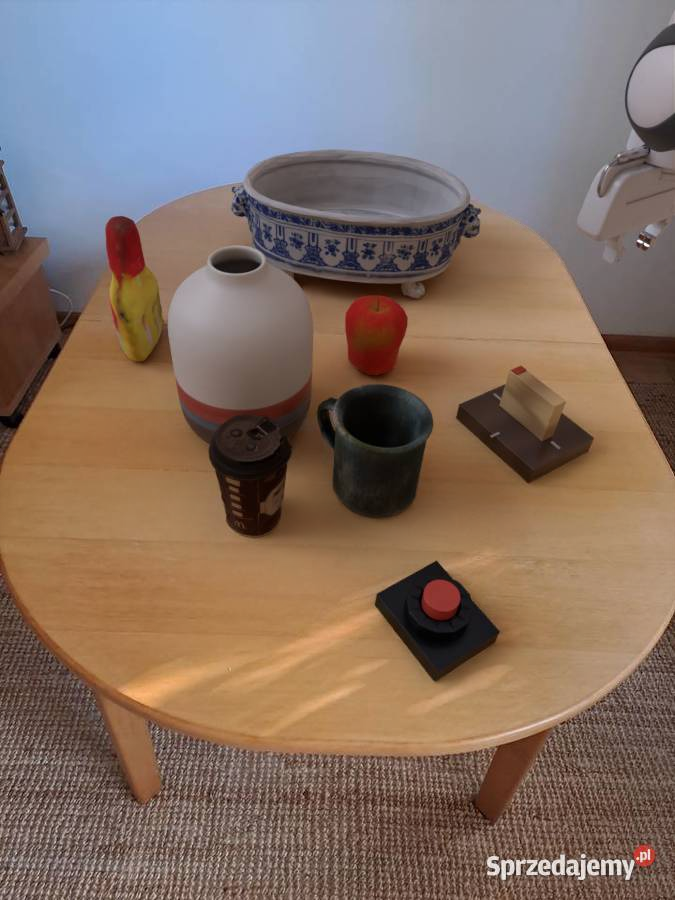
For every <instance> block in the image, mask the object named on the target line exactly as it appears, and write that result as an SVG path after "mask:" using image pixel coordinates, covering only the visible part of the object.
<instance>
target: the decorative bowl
mask: <svg viewBox="0 0 675 900" xmlns="http://www.w3.org/2000/svg"><path fill="white" fill-rule="evenodd" d="M230 192H232V193H233V194H234V195H233V196H232V197H231V206H230V210H231V212H232V213H233V214H234V216H236V217H238V218H239V217H240V218H244V217H245V218H246V219H247V223H248V229H249V231H250V233H251V236H252V248H255V249H257V250H259V251H260V252H262V253H263V254H264V256H265V257H266V261H267V263H268V264H271V265H273V266H275V267H277V268H279V269H280V270H282V271H283V272H285V273H286V274H288V275H289V276H290V277H291V278H293V279H294V276H295V274H300V275H305V276H310V277H316V278H322V279H327V280H334V281H335V280H336V281H343V282H355V283H363V284H391V285H392V284H393V285H394V284H400V292H401V294H403V295H404V296H409V297H410V298H412V299H417V300H418V299H420V298H422V296H424V295H425V292H426V289H425V285H424V284H423V283H422V282H421V281H425V280H428V279H432V278H434V277H436V276H438V275H440V274H441V273H442V272H444V271H445V270H447V268H448V267H449V265H450V263H451V259H452V256H453V254H454V252H455V250H456V249H457V248H458V246H459V245H460V244H461V242H462V241H461V240H462V239H461V238H462V237H464V238H466V239H473V238H475V237H477V236H478V235H479V234H480V233H481V227H480V226H481V219H480V218H479V215H480V214H481V213H482V209H481V207H475V206H474V204H472V203H470V201H471V194H470V192H469V189H468V187H467V186H466V184H465V183H464V182H463V181H462V180H461V179H460V178H459V177H458V176H457V175H455V174H453V173H451V172H450V171H448V170H446V169H444V168H442V167H440V166H437V165H435V164H432V163H429V162H427V161H423V160H420V159H418V158H417V159H416V158H413V157H408V156H403V155H396V154H391V153H385V152H378V151H377V152H376V151H365V150H350V149H319V150H318V149H317V150H305V151H295V152H290V153H285V154H283V153H282V154H278V155H274V156H272V157H268V158H266V159H264V160H262V161H259V162H258V163H256V164H254V165H253V166H252V167H251V168H249V170H248V171H247V172H246V174H245V176H244V178H243V182H242V184H241V185H238V186H232V187H231V191H230ZM294 280H295V279H294Z"/></svg>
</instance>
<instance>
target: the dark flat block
mask: <svg viewBox="0 0 675 900" xmlns="http://www.w3.org/2000/svg"><path fill="white" fill-rule="evenodd" d="M505 384H506V383H505ZM505 384H502V385H500V386H498V387H495V388H493V389H491V390H488V391H486V392H484V393H481V394H480V395H476V396H475V397H472V398H470V399H469V400H465V401H464V402H461V403H459V404H458V407H457V412H456V417H455V419H456V420H458V421H459V422H460V423H461V424H462V425H463V426H464V427H465V428H467V430H468V431H470V432H471V434H473V435H474V436H476V438H477V439H479V441H481V442H482V443H483V444H484V445H486V446H487V447H488V448H489V449H490V450H491V451H492V452H493V453H494V454H495V455H496V456H498V457H499V458H500V459H501V460H502V461H503V462H504V463H505V464H506V465H507V466H509V467H510V469H512V470H513V471H514V472H515V473H516V474H517V475H518V476H520V477H521V478H522V479H523V480H524V481H525V482H526V483H527V484H530V483H532V482H534V481H536V480H537V479H539V478H542V477H544V476H545V475H547V474H549V473H551V472H552V471H554V470H556V469H559V468H560V467H562V466H564V465H565V464H568V463H569V462H571V461H573V460H575V459H577V458H578V457H580V456H582V455H584V454H586V453H588V452H589V451H590V449H591V445H593V442H594V439H595V437H594V436H593V435H591V434H590V433H588V431H586V430H584V429H583V428H582V427H581V426H579V425H578V424H577V423H576V422H575V421H574V420H572V419H571V418H570V417H568V416H567V415H566V414H564V413H563V412H562V414H561V416H560V419H559V421H558V424H557V427H556V429H555V432H554V434H553V436H552V437H550V438H548V439H546V440H544V441H541V440H540V439H539V438H537V437H536V436H535V435H534V434H533V433H531V432H530V431H529V430H528V429H527V428H525V427H524V426H523V425H522V424H521V423H520V422H518V421H517V420H516V419H515V418H514V417H512V416H511V415H510V414H509V413H508V412H506V411H505V410H504V409H503V408H502V407H501V406H499V404H500V401H501V398H502V394H503V391H504V387H505Z"/></svg>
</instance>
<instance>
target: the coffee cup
mask: <svg viewBox="0 0 675 900" xmlns="http://www.w3.org/2000/svg"><path fill="white" fill-rule="evenodd" d="M292 449H293V445H292V444H291V441H290V440H289V439H288V437H287V436H284V435H283V434H281V431H280V428H279V427H277V422H276V421H275V420H273V419H269V418H268V417H267V416H253V415H246V414H244V415H235V416H233V417H231V418H229V419H228V420H226V421H225V422H224V423H222V424H221V425H220V426H219V428H218V429H217V430H216V433H215V435H214V436H213V438H212V439H211V442H210V444H209V447H208V459H209V461H210V464H211V465H212V468H213V469H214V472H215V476H216V479H217V483H218V487H219V491H220V498H221V500H222V503H223V506H224V513H225V516H226V517H225V522H226V524H227V525H228V527H229V528H230V529H231V530H232V531H234V532H236V533H237V534H239V535H240V536H244V537H249V538H259V537H262V536H265V535H267V534H269V533H271V532H272V531H273V530H275V529H276V528H277V526H278V525H279V523H280V520H281V516H282V504H283V501H284V496H285V488H286V481H287V480H286V479H287V471H288V470H287V469H288V462H289V461H290V458H291V455H292Z"/></svg>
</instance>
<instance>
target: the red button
mask: <svg viewBox="0 0 675 900" xmlns="http://www.w3.org/2000/svg"><path fill="white" fill-rule="evenodd" d="M459 603H460V593H459V591H458V589H457V588H456V587H455V586H454V585H453V584H452V583H450V582H448V581H445V580H434V581H432V582H430V583H428V584H427V585H426V587H425V589H424V592H423V596H422V601H421V605H422V608H423V610H424V612H425V613H426V614H427V615H428V616H429V617H431V618H432V619H435V620H439V621H444V620H448V619H450V618H452V617H453V616H454V615H455V614H456V612H457V609H458V606H459Z"/></svg>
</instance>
